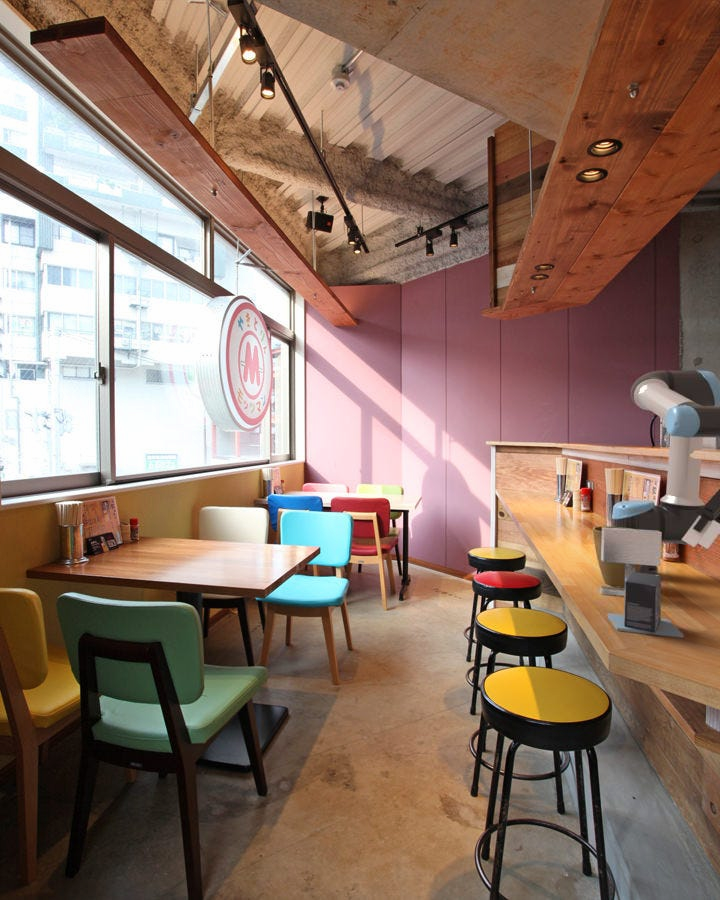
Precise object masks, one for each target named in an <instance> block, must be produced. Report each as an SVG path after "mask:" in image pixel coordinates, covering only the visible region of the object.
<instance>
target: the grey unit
mask: <svg viewBox="0 0 720 900" xmlns="http://www.w3.org/2000/svg"><path fill="white" fill-rule="evenodd" d="M661 537H662V532H660V531H655V530H639V529H623V528H607V527H602V543H601V560H602V561H603V562H614V563H625V578H624V588H621V587H615V586H609V585H607V586H606V585H600V586H599V592H600V593H601V595H608V596H615V595H616V597H617V596H618V597H625V581H626V580H627V578H628V577H629V575H630V574H631V573H632V572H635V564H640V565H652V566H657V567H661V564H662V563H661V562H662V561H661V559H662V558H661V557H662V555H661V554H662V542H661Z"/></svg>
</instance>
